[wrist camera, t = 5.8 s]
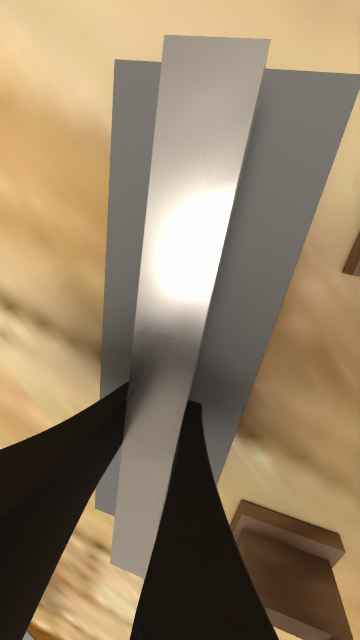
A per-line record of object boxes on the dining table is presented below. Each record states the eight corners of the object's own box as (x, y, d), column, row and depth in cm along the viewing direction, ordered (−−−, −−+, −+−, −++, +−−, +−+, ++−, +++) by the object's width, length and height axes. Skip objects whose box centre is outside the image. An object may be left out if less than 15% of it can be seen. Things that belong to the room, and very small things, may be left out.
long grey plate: (350, 92, 7) (364, 74, 6) (195, 534, 17) (193, 548, 16) (125, 75, 8) (114, 59, 8) (100, 497, 18) (94, 508, 17)
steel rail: (258, 105, 7) (270, 39, 5) (158, 531, 16) (145, 579, 13) (185, 99, 7) (164, 34, 5) (127, 519, 16) (110, 563, 14)
